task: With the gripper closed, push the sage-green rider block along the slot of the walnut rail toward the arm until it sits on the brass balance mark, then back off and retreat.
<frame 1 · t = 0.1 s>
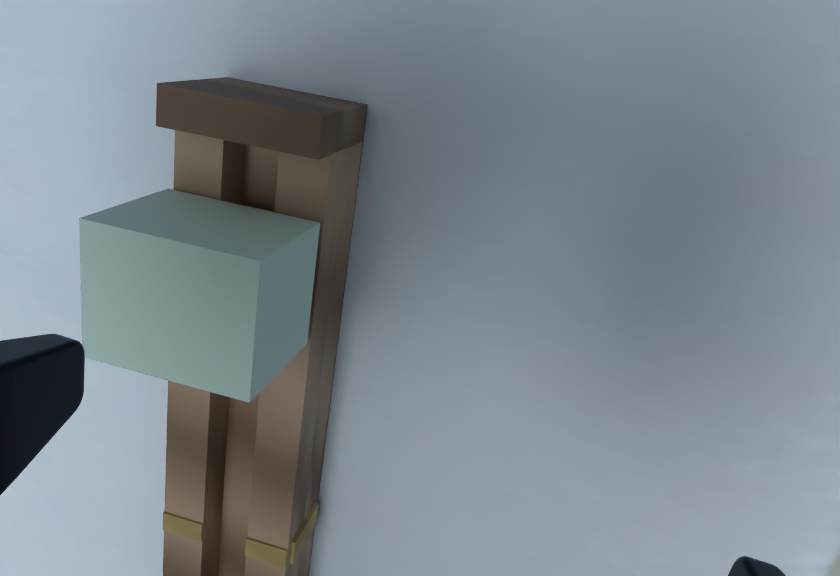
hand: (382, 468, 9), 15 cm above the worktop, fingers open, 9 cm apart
rider: (219, 278, 21), point 4 cm above the worktop, slide at 8.0 cm
rail: (265, 429, 28), on the worktop
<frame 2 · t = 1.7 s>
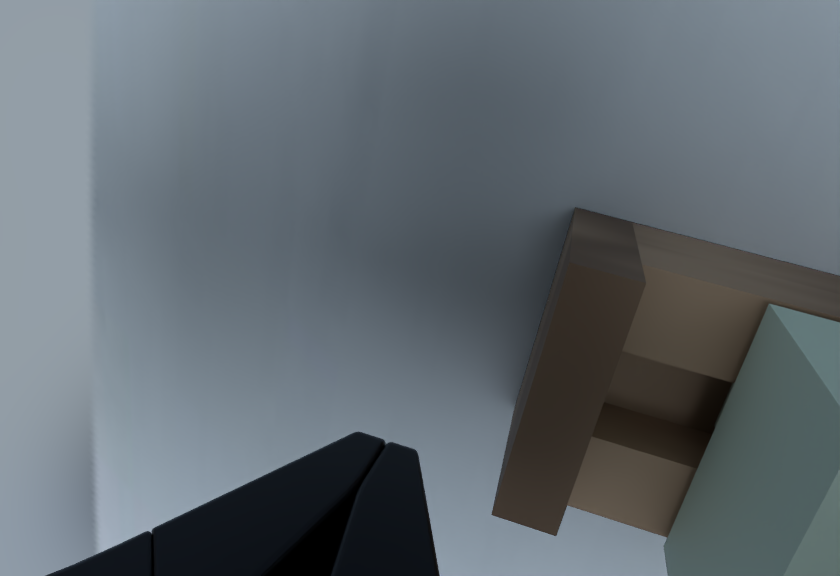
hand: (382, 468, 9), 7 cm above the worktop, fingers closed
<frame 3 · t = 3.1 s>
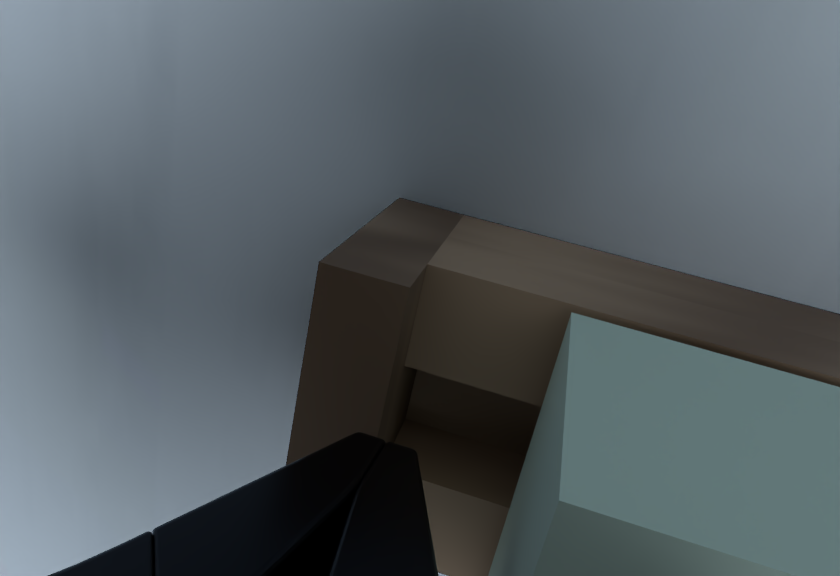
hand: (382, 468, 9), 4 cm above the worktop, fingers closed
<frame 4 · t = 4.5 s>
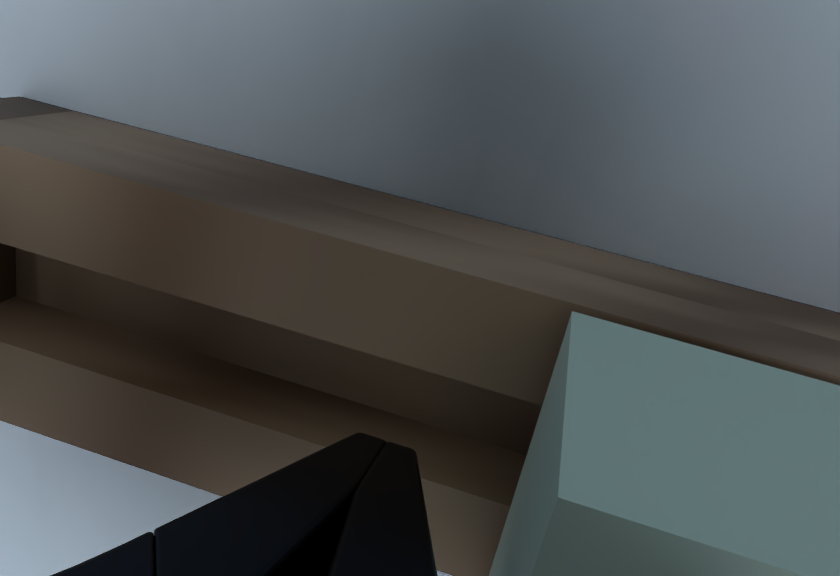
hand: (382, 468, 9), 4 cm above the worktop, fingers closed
rider: (673, 574, 8), point 4 cm above the worktop, slide at 0.1 cm, touching gripper
rail: (654, 403, 13), on the worktop
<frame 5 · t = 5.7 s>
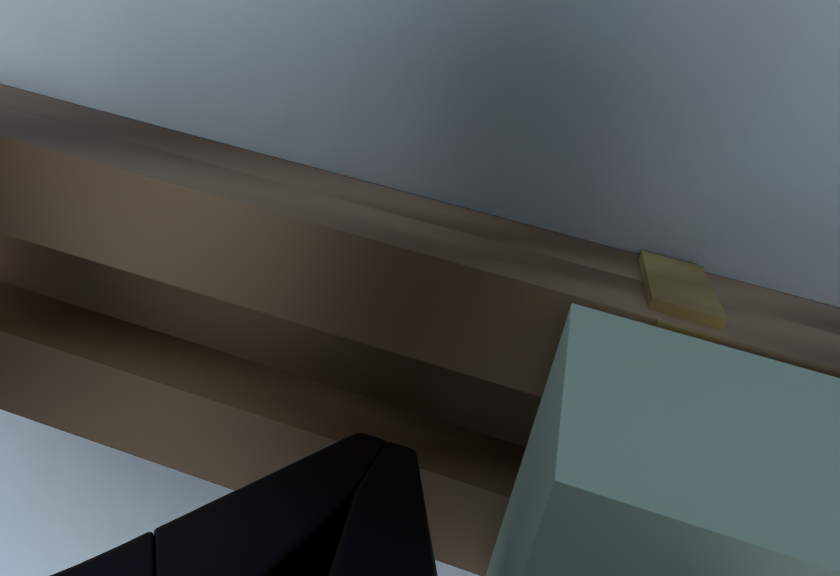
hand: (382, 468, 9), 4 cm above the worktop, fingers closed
rider: (670, 563, 9), point 4 cm above the worktop, slide at -3.5 cm, touching gripper
rail: (464, 340, 13), on the worktop
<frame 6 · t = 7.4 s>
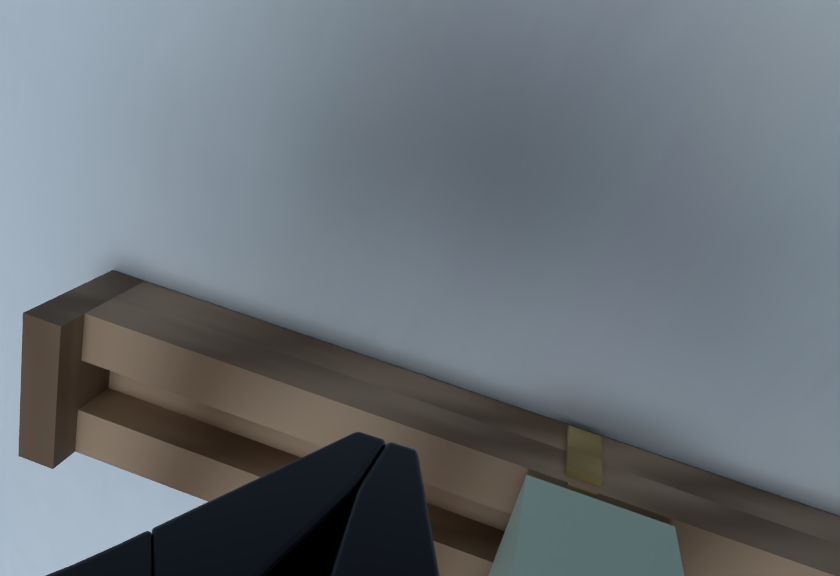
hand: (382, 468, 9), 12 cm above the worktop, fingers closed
rail: (468, 462, 23), on the worktop
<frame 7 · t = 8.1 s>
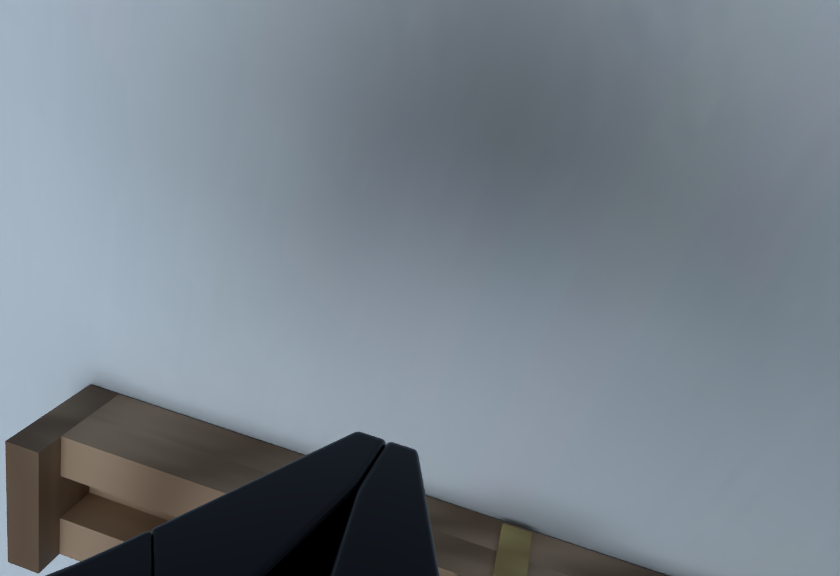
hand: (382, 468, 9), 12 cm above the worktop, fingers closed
rail: (416, 553, 24), on the worktop
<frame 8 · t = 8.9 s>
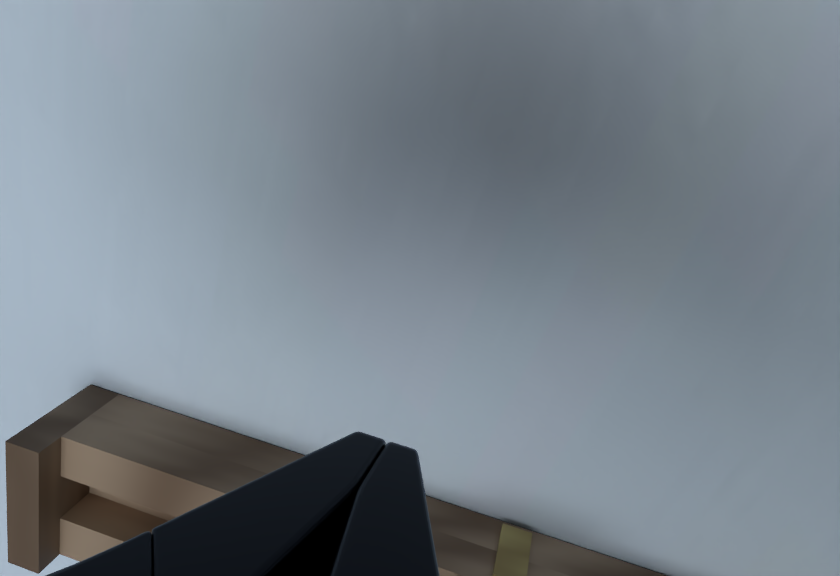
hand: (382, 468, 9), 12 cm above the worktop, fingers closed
rail: (416, 553, 24), on the worktop
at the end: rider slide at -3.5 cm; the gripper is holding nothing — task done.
